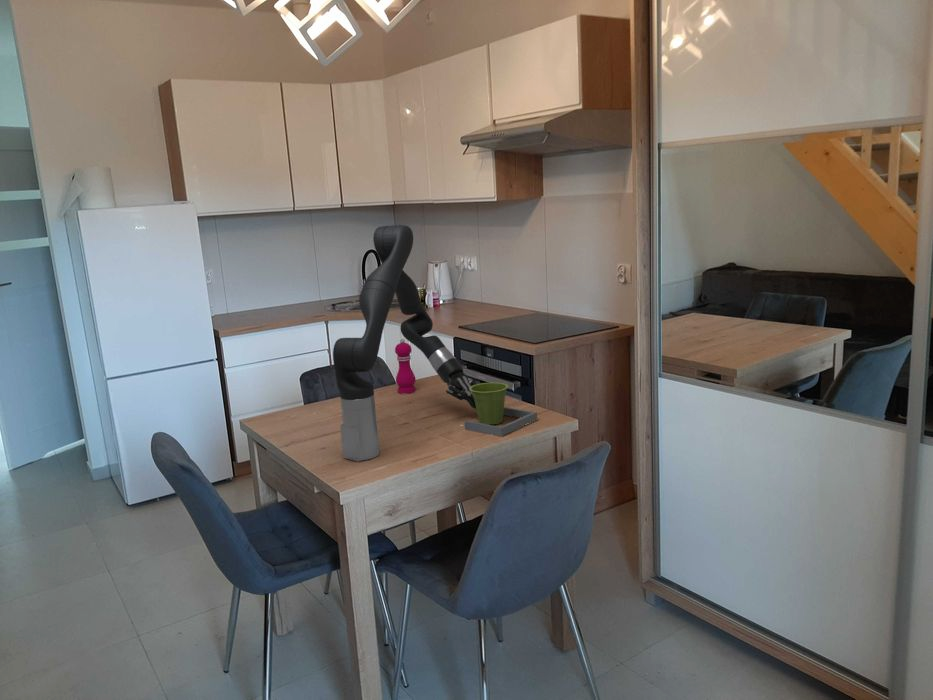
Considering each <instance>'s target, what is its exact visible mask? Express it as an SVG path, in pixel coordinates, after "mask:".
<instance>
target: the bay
mask: <svg viewBox="0 0 933 700" xmlns="http://www.w3.org/2000/svg"><path fill="white" fill-rule="evenodd" d="M505 415H507V417H510V416H514V417H513V418H516V417H521V418H516V420H514V421H511V422H509V423H506V424H504V425H501V426H497V425H494V424H490V425H487V424H482V423H480V422H477V421H472V420H471V421H470V420H464V422H463V423H464V430H466V431H467V430H468V431H471V430H472V432H477V433H481V432H482V434H487V435H491V434H493V435H492V436H495V435H498V436H497V437H500V436H502V437H504V436H506V435H508V434H507V433H509V432H511V433H513V432H515V431H517V430H519V429H521V428H523V427H522V426H523V425H525V424H527V423H530V422H532V421H534V420H536V419H537V420H538V412H537V411H532V410H524V409H518V408H513V407H508V406H504V412H503V416H505ZM534 422H535V421H534ZM532 423H533V422H532ZM530 424H531V423H530ZM520 427H521V428H520ZM518 428H519V429H518ZM516 429H517V430H516ZM514 430H515V431H514ZM512 431H513V432H512ZM505 434H506V435H505ZM509 434H510V433H509ZM503 435H504V436H503Z"/></svg>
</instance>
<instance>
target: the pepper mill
mask: <svg viewBox="0 0 933 700" xmlns="http://www.w3.org/2000/svg"><path fill="white" fill-rule="evenodd" d="M399 342H400V343H398V344H396V346H395V347H394V353H395V354H396V358H397V359H396V360H397V361H398V370H397V371H398V372H397V373H396V377H395V383H396V385H397V386H398V387H397V393H398V392H399V393H398V394H400V393H409V394H413V393H415V392H416V386H415V383H416V381H417V380H416V376H415V373H414V371H413V370H412V367H411V363H410V362H411V360H412V358H411V356H412V355H410V354H411V353H412V347H411V344H409V343H408V342H406V341H405V339H404V338H401V339H400V340H399ZM414 391H415V392H414ZM412 392H413V393H412Z"/></svg>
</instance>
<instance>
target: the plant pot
mask: <svg viewBox="0 0 933 700" xmlns="http://www.w3.org/2000/svg"><path fill="white" fill-rule="evenodd" d="M507 389H509V385H508V384H506V383H502V382H483V383H476V385H473V386H471V387H470V390H471V391H472V395H473V398H474V401H475V405H476V413H477V417H478V423H482V424H487V425H493V426H496V425H498V424H501V423H502V422H504V420H503V419H504V415H503V412H504V407H505V402H506V395H507ZM495 424H496V425H495Z"/></svg>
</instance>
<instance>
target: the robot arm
mask: <svg viewBox="0 0 933 700" xmlns="http://www.w3.org/2000/svg"><path fill="white" fill-rule="evenodd" d="M413 244H414V232H413V230H412V229H411V227H410V226H409V225H407V224H394V225H393V224H392V225H382V226H378V227H377V228H375V230H374V232H373V247H374V249H375V252H376V254H377V256H378V258H379V261H380V263H381V264H380V265H379V266H378V267H376V268H375V269H374V270H373V271H372V272H370V274H369V275H368V276H367V278H366V279H365V281H364V283H363V285H362V289H361V291H360V293H359V298H358V303H359V308H360V310H361V313H362V315H363V318H364V320H365V321H364V322H365V324H366V326H365V330H364V333H363V335H362V337H340V338H338V339H337V340H335V343H334V345H333V349H332V361H333V369H334V373H335V379H336V380H335V381H336V387H337V389H338V392H339V397H340V406H341V407H340V408H341V410H342V411H341V419H342V424H340V426H339V429H340V437H341V438H340V439H341V446H342V447H341V448H342V457H343V459H346V460H350V461H354V462H358V463H359V462H362V461H367V460H371V459H374V458H376V457H378V456H379V455H380V443H379V434H378V433H379V432H378V431H379V430H378V421H377V411H376V410H377V409H376V400H375V399H376V398H375V390H374V389H375V388H374V385H373V383H372V382H370V381H368V380H366V379H363V378H362V377H360V376H359V375H358V374H357V373H365V372H366V373H367V372H371V370H373V368H374V367H375V364H376V362H377V359H378V354H379V352H380V351H379V350H380V346H381V342H382V337H383V331H384V328H385V325H386V321H387V317H388V314H389V313H390V309H391V306H392V304H393V301H394V298H395V295H396V299H397V302H398V305H399V309H400V312H401V313H402V314H403V315H405V316H411V317H409V318H408V319H405V320H404V321H402V322H401V325H400V332H401V334H402V336H403V338H405V339H406V341H408V342H409V343H411V344H412V345H413V346H415V347H416V348H417V349H418V350H419V351H421V353H423V355H424V356H425V358H426V359H427V360H428V362H429V363H430V365H431V367H432V368H433V370H434V372H436V374H437V375H438V376H439V378H440V379H441V380H442V382H443V383H445V384H447V386H448V387H447V389H446V390H445V393H447V394H449V395H450V396H451V397H454V398H456V399H458V401H463V400H465V401H467V403H468V405H469V406H470V407H471V408H472V409H474V410H475V409H476V405H475V401H474V398H473V395H472V391H471V390H470V387H471V386H473V385H477V380H476V378H475V377H472V378H470V377H469V376H468V375H467V374H466V373H464V367H462V365H461V363H460V362H459V361H458V359H457V358H456V357H455V356H454V355H453V353H452V352H451V351H450V350H449V349H448V348H447V346H446V345H445V344H444V343H443V342H442V340H441V339H440V338H439V336H437V335H434V334H433V335H430V336H424V335H426V334H429V332H431V331H432V330H433V327H434V326H433V325H434V324H433V320H432V318H431V316H430V315H429V313H428V312H427V311H426V309H425V307H424V305H423V303H422V301H421V298H420V293H419V291H418V287H417V285H416V283H415V282H414V280H413V279H412V277H410V276H409V274H408V273H406V272H405V270H404V267H405V266H406V264H407V261H408V259H409V256H410V255H411V252H412V249H413ZM476 410H477V409H476Z"/></svg>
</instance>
